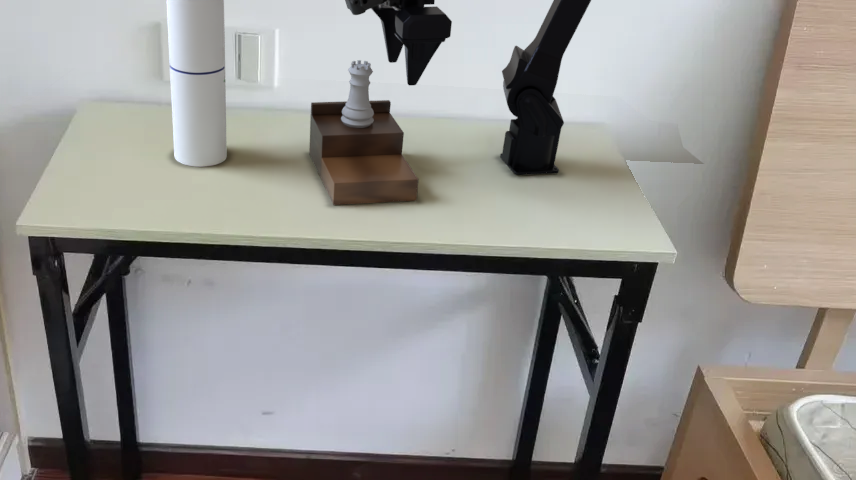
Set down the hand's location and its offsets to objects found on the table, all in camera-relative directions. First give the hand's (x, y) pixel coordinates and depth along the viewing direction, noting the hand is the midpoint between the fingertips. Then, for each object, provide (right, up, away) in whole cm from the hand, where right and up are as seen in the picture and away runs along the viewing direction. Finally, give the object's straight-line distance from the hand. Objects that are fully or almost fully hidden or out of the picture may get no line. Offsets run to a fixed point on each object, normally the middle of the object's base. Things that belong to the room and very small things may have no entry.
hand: (401, 73), depth 129 cm
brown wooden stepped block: (-6, -14, +1) cm, 15 cm away
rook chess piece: (-6, -7, +1) cm, 9 cm away
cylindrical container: (-27, -10, +4) cm, 30 cm away
